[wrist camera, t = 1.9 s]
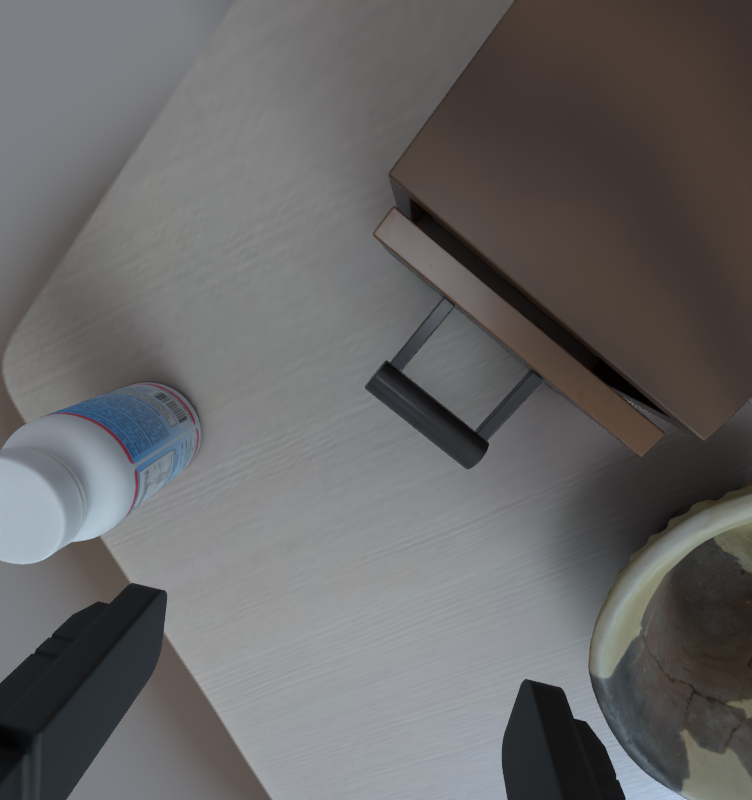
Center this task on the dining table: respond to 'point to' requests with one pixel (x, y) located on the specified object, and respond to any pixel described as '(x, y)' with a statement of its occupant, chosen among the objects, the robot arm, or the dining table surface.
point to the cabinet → (608, 190)
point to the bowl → (684, 652)
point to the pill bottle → (90, 467)
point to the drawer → (506, 330)
